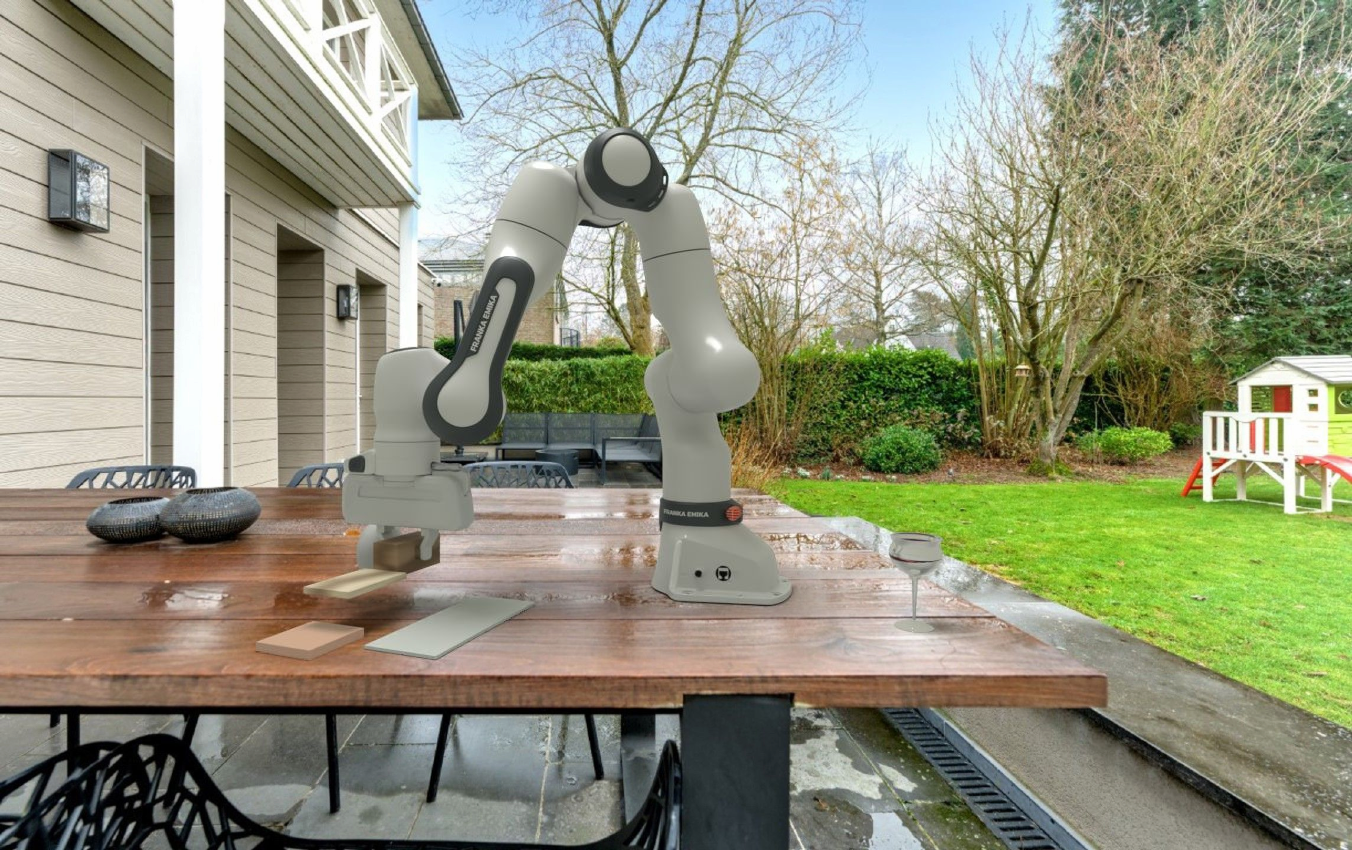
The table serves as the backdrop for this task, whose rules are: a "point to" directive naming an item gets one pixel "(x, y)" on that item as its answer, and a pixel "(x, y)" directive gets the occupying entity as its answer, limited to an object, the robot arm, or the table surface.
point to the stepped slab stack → (379, 568)
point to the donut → (369, 546)
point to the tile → (310, 640)
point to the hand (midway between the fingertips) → (407, 557)
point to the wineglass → (915, 566)
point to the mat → (450, 627)
